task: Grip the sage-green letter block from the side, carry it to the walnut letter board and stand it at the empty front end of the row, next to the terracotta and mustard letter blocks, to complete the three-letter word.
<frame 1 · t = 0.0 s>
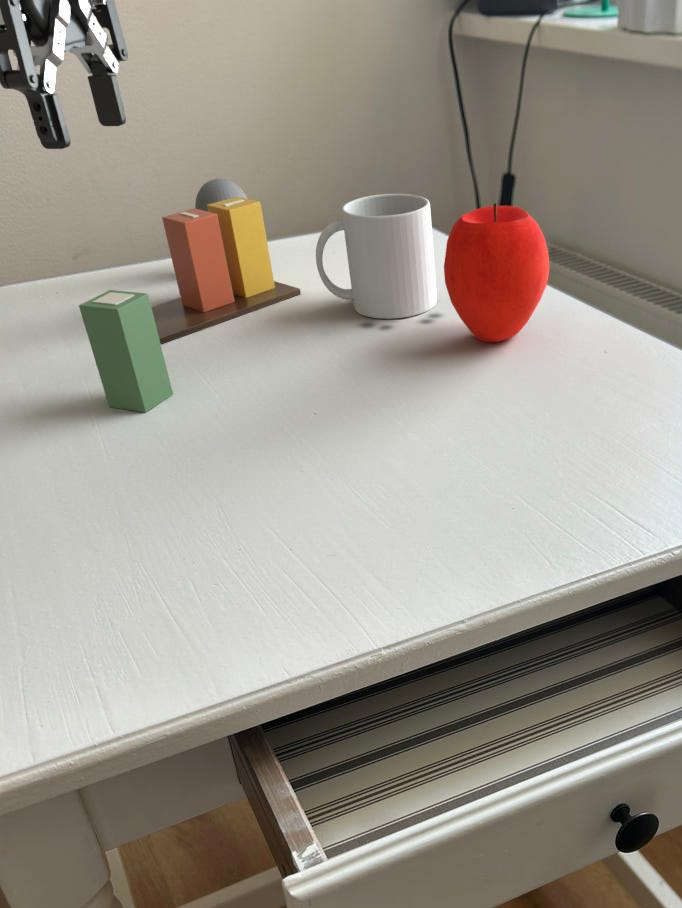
hand: (86, 136, 80), 20 cm above the table, tool pointing down, fingers open, 8 cm apart
green letter: (141, 400, 87), on the table
mustard letter: (249, 289, 108), point 1 cm above the table, touching letter board
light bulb: (235, 271, 116), on the table
apple: (499, 338, 95), on the table
mug: (386, 306, 104), on the table
terracotta letter: (208, 303, 105), point 1 cm above the table, touching letter board
letter board: (202, 311, 105), on the table
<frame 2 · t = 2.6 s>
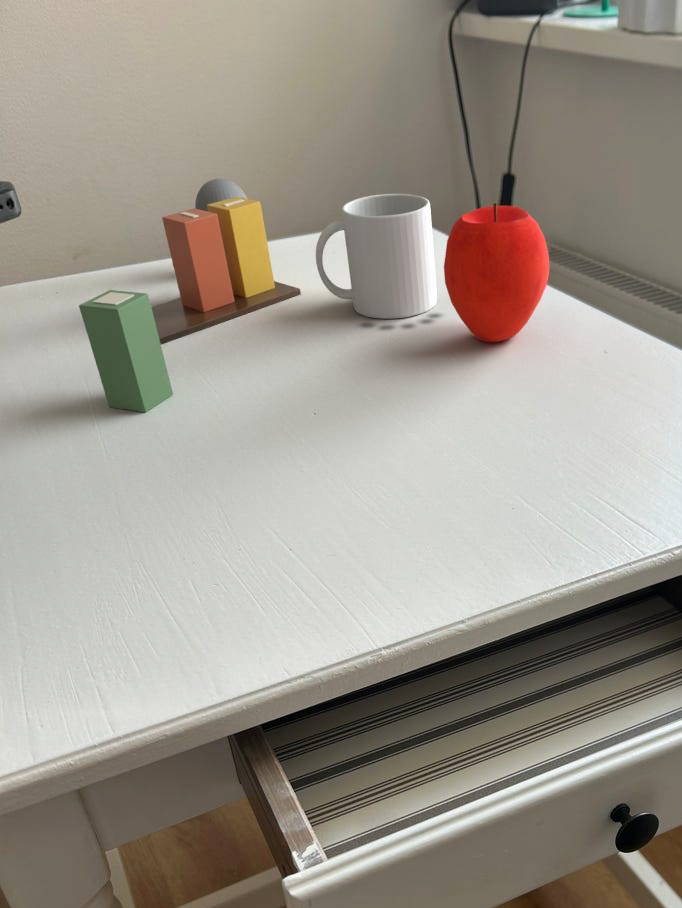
nothing on the table moved.
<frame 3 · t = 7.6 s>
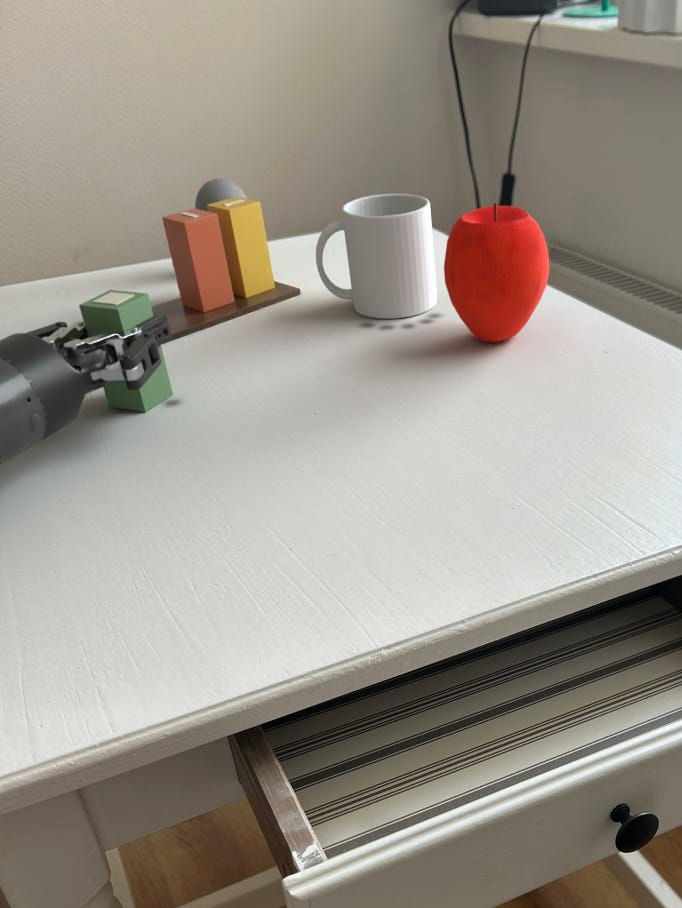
hand: (143, 323, 85), 6 cm above the table, tool horizontal, fingers closed on green letter, 4 cm apart
green letter: (141, 400, 87), on the table, touching gripper
everything else where it was.
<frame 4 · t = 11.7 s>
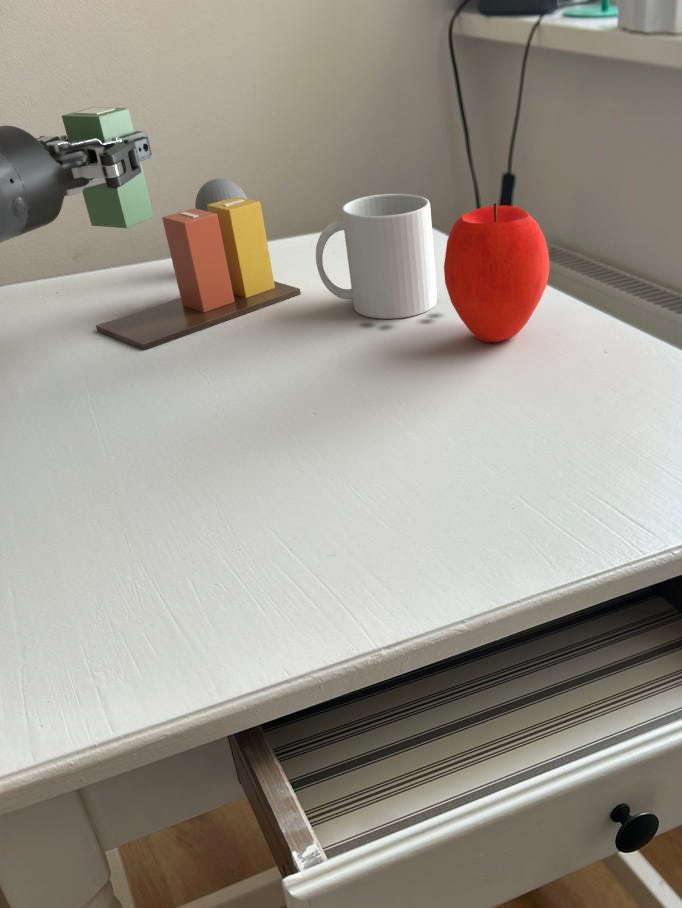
hand: (124, 143, 88), 18 cm above the table, tool horizontal, fingers closed on green letter, 4 cm apart
green letter: (123, 221, 90), point 12 cm above the table, touching gripper
everything else where it was.
when the fingers open (7 cm above the table, at t = 15.9 s): green letter stays where it is, resting on letter board.
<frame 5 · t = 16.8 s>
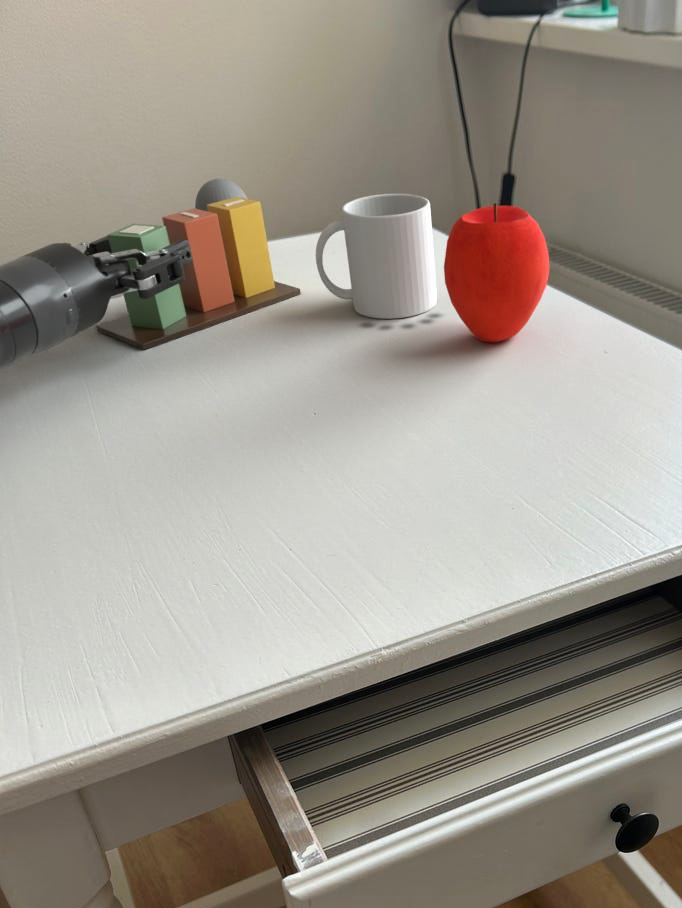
hand: (152, 247, 98), 7 cm above the table, tool horizontal, fingers open, 8 cm apart
green letter: (159, 321, 101), point 1 cm above the table, touching letter board
everything else where it was.
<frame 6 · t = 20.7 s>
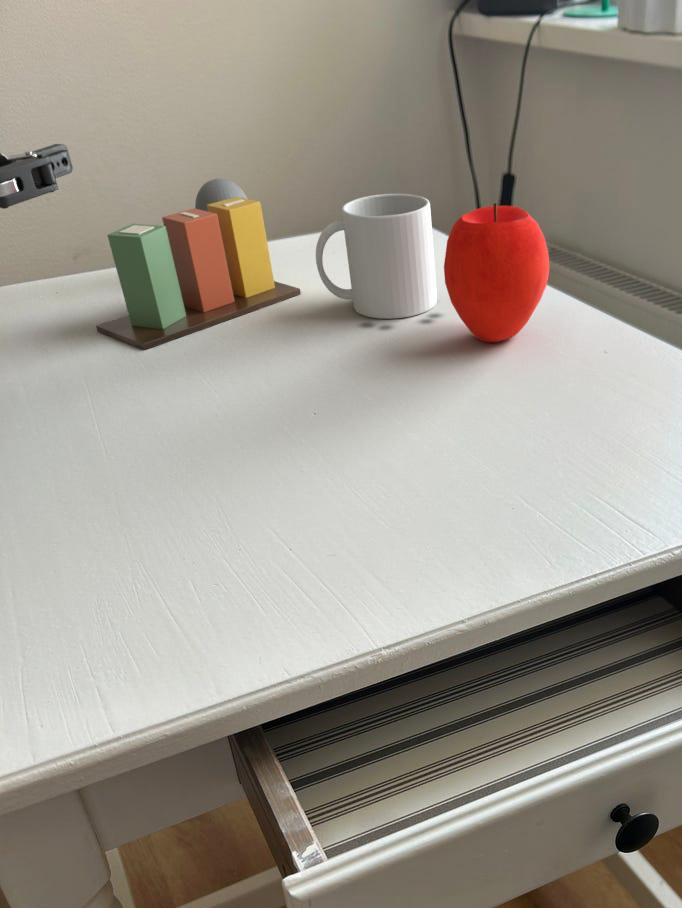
hand: (26, 155, 83), 19 cm above the table, tool horizontal, fingers open, 8 cm apart
nothing on the table moved.
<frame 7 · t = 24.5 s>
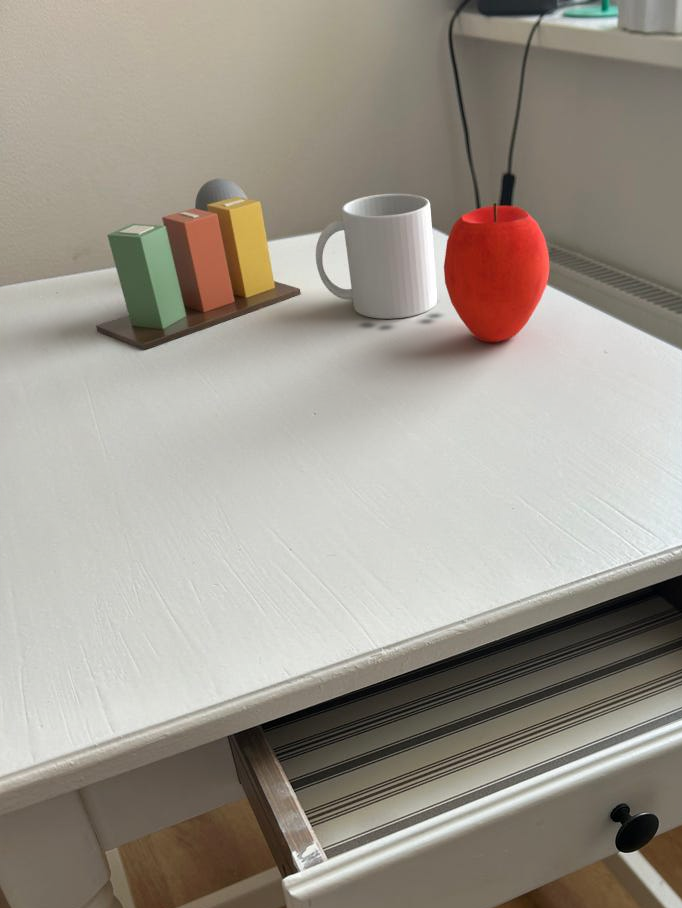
nothing on the table moved.
at the end: green letter 0.1 cm from the target spot on the letter board, point 0.6 cm above the letter board's base; green letter tilted 0°; the gripper is holding nothing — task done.
